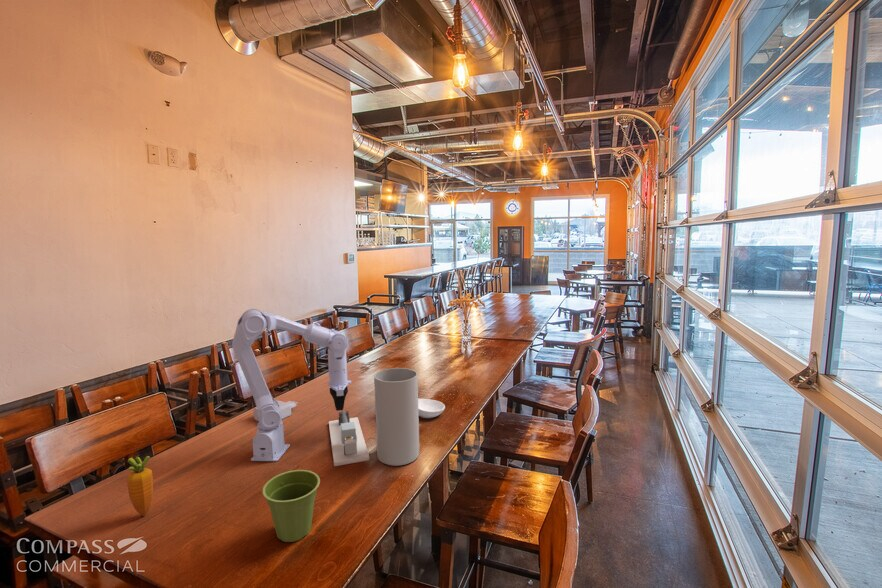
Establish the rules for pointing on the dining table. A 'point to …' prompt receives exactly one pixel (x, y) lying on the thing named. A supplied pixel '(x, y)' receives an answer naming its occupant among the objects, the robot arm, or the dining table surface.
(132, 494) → the carrot
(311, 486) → the plant pot
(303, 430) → the dining table surface
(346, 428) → the light grey sliding block
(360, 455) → the white slide rail base
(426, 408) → the spoon rest
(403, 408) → the cylinder vase
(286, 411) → the charger
